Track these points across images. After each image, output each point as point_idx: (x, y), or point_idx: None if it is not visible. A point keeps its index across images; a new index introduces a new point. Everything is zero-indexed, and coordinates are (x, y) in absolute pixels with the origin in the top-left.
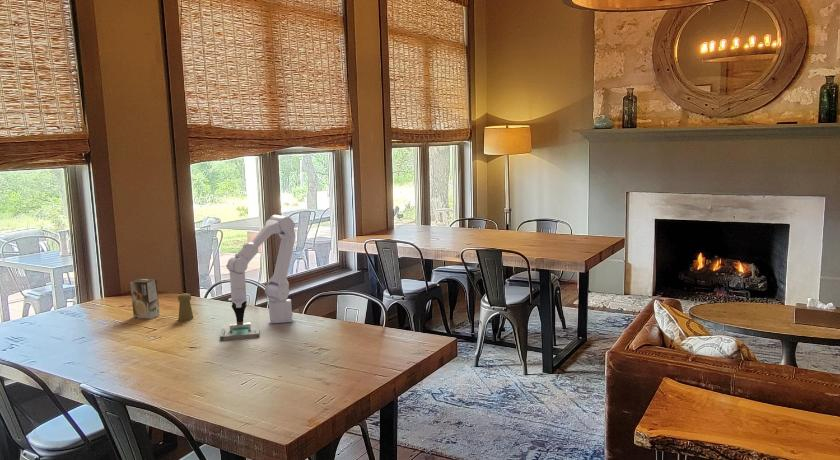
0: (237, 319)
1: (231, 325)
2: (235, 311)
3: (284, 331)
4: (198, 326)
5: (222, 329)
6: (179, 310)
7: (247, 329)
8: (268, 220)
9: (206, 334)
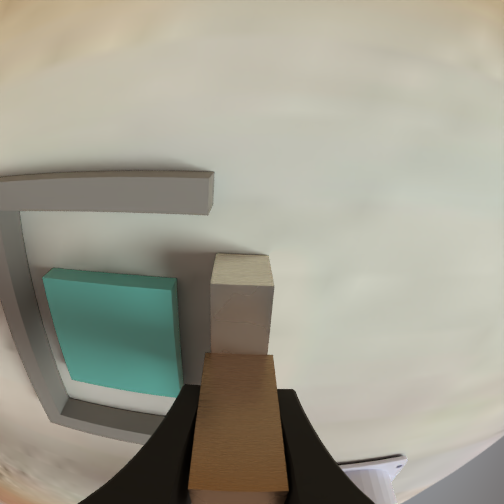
0: (174, 408)
1: (211, 303)
2: (107, 490)
3: None
4: (484, 4)
5: (179, 190)
6: None
7: (169, 391)
8: None
9: (206, 21)
